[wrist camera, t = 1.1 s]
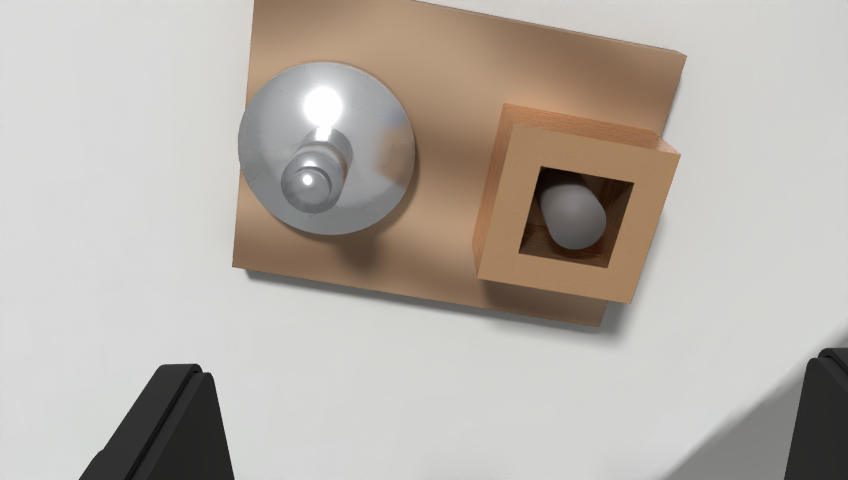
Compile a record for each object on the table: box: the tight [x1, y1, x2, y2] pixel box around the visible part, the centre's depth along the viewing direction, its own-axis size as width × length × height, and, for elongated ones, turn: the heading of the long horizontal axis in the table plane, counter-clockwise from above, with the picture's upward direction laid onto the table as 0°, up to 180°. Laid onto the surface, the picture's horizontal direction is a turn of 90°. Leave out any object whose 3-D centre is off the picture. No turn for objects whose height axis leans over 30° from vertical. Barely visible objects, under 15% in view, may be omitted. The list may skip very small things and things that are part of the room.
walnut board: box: [232, 0, 687, 327], centre depth 31 cm, size 14×19×6 cm
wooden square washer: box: [472, 103, 681, 304], centre depth 31 cm, size 7×7×4 cm
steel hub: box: [238, 60, 415, 235], centre depth 30 cm, size 8×8×6 cm
